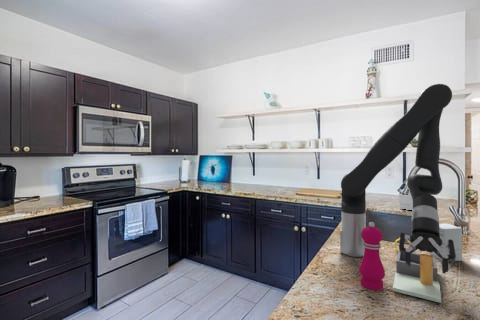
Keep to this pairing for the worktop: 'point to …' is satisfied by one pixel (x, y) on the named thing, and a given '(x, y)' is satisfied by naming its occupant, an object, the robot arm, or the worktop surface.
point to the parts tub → (412, 265)
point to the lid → (419, 282)
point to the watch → (398, 240)
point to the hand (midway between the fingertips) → (426, 268)
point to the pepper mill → (371, 258)
